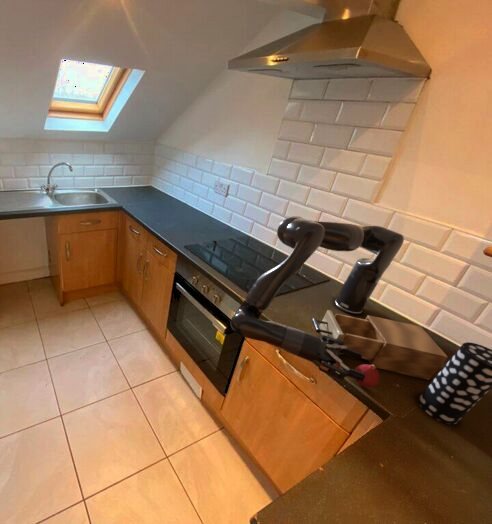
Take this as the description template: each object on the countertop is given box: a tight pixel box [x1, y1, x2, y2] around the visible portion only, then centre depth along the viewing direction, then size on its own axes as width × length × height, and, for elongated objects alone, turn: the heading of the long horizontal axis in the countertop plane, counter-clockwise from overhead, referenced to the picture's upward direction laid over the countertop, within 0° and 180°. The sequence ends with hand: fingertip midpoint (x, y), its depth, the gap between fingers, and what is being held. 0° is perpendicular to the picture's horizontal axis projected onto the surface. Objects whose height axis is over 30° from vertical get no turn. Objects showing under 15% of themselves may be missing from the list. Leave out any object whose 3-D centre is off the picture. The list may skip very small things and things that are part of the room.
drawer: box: [311, 309, 384, 361], centre depth 96 cm, size 19×12×8 cm, turn 76°
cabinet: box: [364, 314, 448, 381], centre depth 93 cm, size 16×14×10 cm
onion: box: [354, 363, 381, 388], centre depth 82 cm, size 6×6×8 cm
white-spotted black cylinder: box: [417, 341, 492, 425], centre depth 75 cm, size 8×8×20 cm
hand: (362, 367), depth 82 cm, fingers open, 8 cm apart
